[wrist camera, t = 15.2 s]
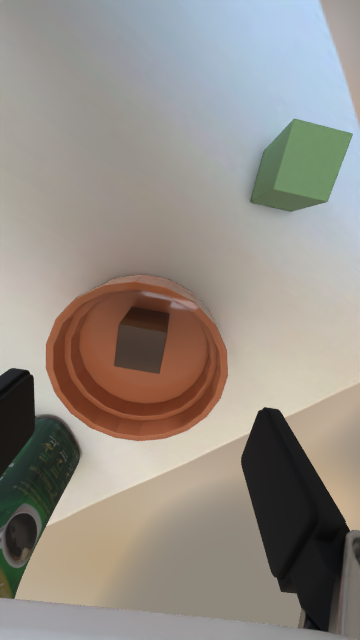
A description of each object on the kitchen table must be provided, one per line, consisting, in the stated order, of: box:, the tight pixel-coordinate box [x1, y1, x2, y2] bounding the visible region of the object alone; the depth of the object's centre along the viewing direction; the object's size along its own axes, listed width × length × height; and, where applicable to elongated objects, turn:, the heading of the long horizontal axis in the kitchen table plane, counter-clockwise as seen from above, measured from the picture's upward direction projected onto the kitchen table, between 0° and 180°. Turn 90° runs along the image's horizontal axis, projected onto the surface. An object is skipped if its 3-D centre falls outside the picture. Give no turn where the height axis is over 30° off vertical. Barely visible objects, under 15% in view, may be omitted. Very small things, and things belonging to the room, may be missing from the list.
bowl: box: [46, 274, 228, 441], centre depth 24 cm, size 17×17×5 cm
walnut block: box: [114, 306, 170, 374], centre depth 22 cm, size 4×4×6 cm
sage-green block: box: [251, 119, 353, 211], centre depth 18 cm, size 4×4×6 cm
